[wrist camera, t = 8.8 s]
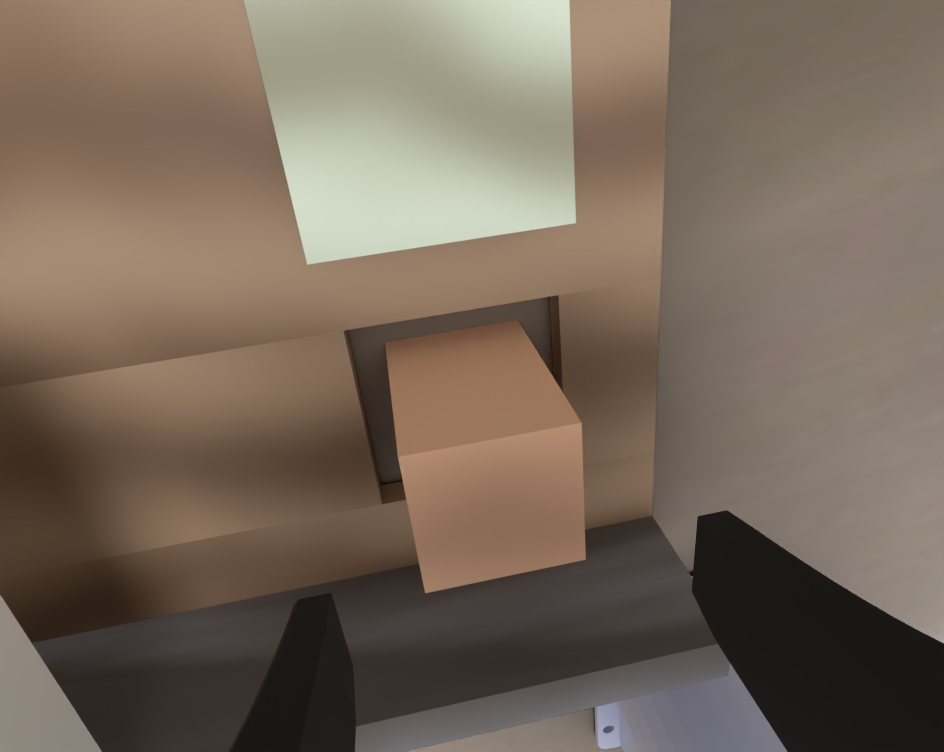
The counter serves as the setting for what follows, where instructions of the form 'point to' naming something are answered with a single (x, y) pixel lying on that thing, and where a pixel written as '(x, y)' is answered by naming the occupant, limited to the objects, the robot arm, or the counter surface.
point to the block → (485, 455)
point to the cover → (34, 699)
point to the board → (320, 348)
